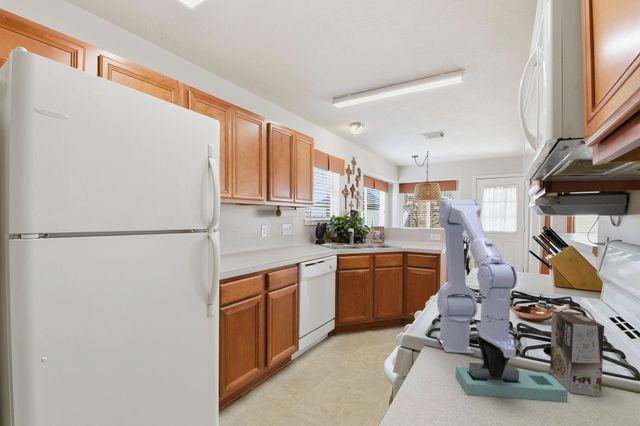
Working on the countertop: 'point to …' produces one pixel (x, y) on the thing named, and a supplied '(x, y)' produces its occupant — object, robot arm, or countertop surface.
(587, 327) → the coffee box
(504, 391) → the teal slotted board
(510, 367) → the grey arch block
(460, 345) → the robot arm
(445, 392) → the countertop surface
